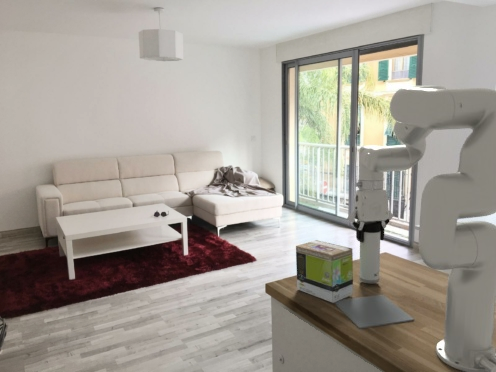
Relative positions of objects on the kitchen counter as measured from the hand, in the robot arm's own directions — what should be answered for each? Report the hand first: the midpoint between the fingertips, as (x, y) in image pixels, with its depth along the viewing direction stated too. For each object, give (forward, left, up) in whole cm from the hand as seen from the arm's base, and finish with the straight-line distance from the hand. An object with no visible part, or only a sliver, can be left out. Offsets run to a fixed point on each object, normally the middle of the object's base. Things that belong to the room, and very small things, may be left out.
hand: (370, 239), depth 133 cm
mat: (-18, +9, -15) cm, 25 cm away
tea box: (-3, +17, -15) cm, 23 cm away
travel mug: (0, 0, -14) cm, 14 cm away
